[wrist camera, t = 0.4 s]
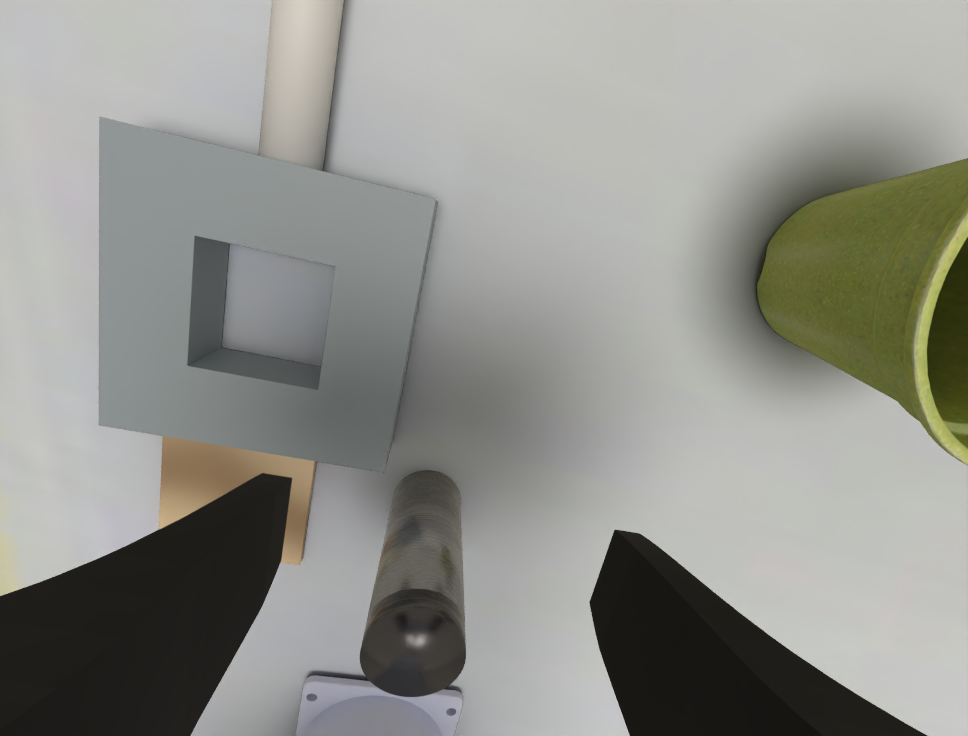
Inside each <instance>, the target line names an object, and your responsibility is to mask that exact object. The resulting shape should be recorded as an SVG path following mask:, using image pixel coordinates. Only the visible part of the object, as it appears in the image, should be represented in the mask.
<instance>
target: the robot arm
mask: <svg viewBox="0 0 968 736" xmlns="http://www.w3.org/2000/svg"><path fill="white" fill-rule="evenodd" d="M291 484H292V478H291V477H285V476H278V475H272V474H266V473H261V474H259V475H257V476H256V477H254V478H252V479H250V480H248V481H247V482H245V483H243V484H242V485H240V486H238V487H236V488H235V489H233V490H231V491H230V492H228V493H226V494H224V495H223V496H221V497H219V498H217V499H216V500H214V501H212V502H210V503H208V504H207V505H205V506H203V507H201V508H199V509H198V510H196V511H194V512H192V513H190V514H189V515H187V516H185V517H183V518H181V519H179V520H177V521H175V522H173V523H171V524H169V525H167V526H165V527H163V528H161V529H159V530H157V531H155V532H153V533H151V534H149V535H147V536H145V537H143V538H141V539H139V540H137V541H135V542H133V543H131V544H129V545H127V546H125V547H123V548H121V549H119V550H117V551H114V552H112V553H110V554H108V555H105V556H103V557H101V558H99V559H96V560H94V561H92V562H89V563H87V564H84V565H82V566H79V567H77V568H75V569H72V570H70V571H67V572H65V573H62V574H60V575H58V576H55V577H52V578H50V579H47V580H45V581H42V582H40V583H37V584H34V585H31V586H28V587H25V588H22V589H20V590H17V591H14V592H11V593H8V594H5V595H3V596H0V736H190V735H191V733H192V731H193V729H194V727H195V726H196V724H197V722H198V720H199V718H200V716H201V714H202V713H203V711H204V709H205V707H206V706H207V704H208V702H209V700H210V698H211V697H212V695H213V693H214V691H215V690H216V688H217V686H218V684H219V682H220V681H221V679H222V677H223V675H224V674H225V672H226V670H227V668H228V666H229V665H230V663H231V661H232V659H233V658H234V656H235V654H236V652H237V650H238V649H239V647H240V645H241V643H242V642H243V640H244V638H245V636H246V634H247V633H248V631H249V629H250V627H251V625H252V624H253V622H254V620H255V618H256V616H257V615H258V613H259V611H260V609H261V607H262V605H263V603H264V601H265V598H266V596H267V594H268V591H269V589H270V587H271V584H272V582H273V579H274V577H275V574H276V572H277V569H278V567H279V565H280V562H281V559H282V552H283V544H284V537H285V529H286V522H287V514H288V506H289V499H290V491H291ZM590 607H591V612H592V617H593V622H594V627H595V632H596V636H597V640H598V645H599V649H600V652H601V655H602V658H603V661H604V664H605V667H606V669H607V672H608V675H609V678H610V681H611V684H612V687H613V690H614V692H615V695H616V698H617V701H618V704H619V706H620V709H621V712H622V715H623V718H624V720H625V723H626V726H627V729H628V732H629V734H630V736H927V735H925V734H923V733H921V732H920V731H918V730H916V729H914V728H913V727H911V726H909V725H907V724H905V723H904V722H902V721H900V720H899V719H897V718H895V717H894V716H892V715H890V714H889V713H887V712H885V711H884V710H882V709H880V708H879V707H877V706H875V705H874V704H872V703H870V702H869V701H867V700H865V699H864V698H862V697H860V696H858V695H857V694H855V693H854V692H852V691H851V690H849V689H847V688H846V687H844V686H843V685H841V684H839V683H838V682H836V681H835V680H833V679H832V678H830V677H829V676H827V675H826V674H824V673H823V672H821V671H820V670H818V669H817V668H815V667H814V666H812V665H811V664H809V663H808V662H806V661H805V660H803V659H802V658H800V657H799V656H797V655H796V654H794V653H793V652H792V651H790V650H789V649H787V648H786V647H785V646H783V645H782V644H780V643H779V642H778V641H776V640H775V639H773V638H772V637H771V636H769V635H768V634H767V633H765V632H764V631H763V630H761V629H760V628H759V627H757V626H756V625H755V624H754V623H752V622H751V621H750V620H748V619H747V618H746V617H744V616H743V615H742V614H740V613H739V612H738V611H737V610H735V609H734V608H733V607H731V606H730V605H729V604H728V603H726V602H725V601H724V600H723V599H721V598H720V597H719V596H718V595H716V594H715V593H714V592H713V591H712V590H710V589H709V588H708V587H707V586H705V585H704V584H703V583H702V582H701V581H699V580H698V579H697V578H696V577H695V576H693V575H692V574H691V573H690V572H688V571H687V570H686V569H685V568H684V567H682V566H681V565H680V564H679V563H678V562H676V561H675V560H674V559H673V558H671V557H670V556H669V555H668V554H667V553H665V552H664V551H663V550H662V549H660V548H659V547H658V546H656V545H655V544H654V543H652V542H651V541H650V540H648V539H647V538H645V537H644V536H642V535H641V534H639V533H633V532H626V531H620V530H614V533H613V536H612V539H611V542H610V545H609V548H608V551H607V554H606V556H605V559H604V562H603V565H602V568H601V571H600V574H599V577H598V580H597V583H596V585H595V588H594V591H593V594H592V597H591V600H590ZM312 693H313V694H312ZM462 706H463V696H462V694H461V693H460V692H458V691H455V690H446V689H442V690H440V691H438V692H436V693H433V694H430V695H426V696H421V697H402V696H396V695H392V694H389V693H387V692H384V691H383V690H381V689H379V688H377V687H376V686H375V685H373V684H372V683H371V682H370V681H363V680H354V679H345V678H336V677H326V676H317V675H314V676H310V677H308V678H307V679H306V680H305V683H304V686H303V691H302V697H301V703H300V710H299V716H298V722H297V729H296V735H295V736H454V734H455V731H456V727H457V724H458V720H459V717H460V713H461V710H462Z"/></svg>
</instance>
